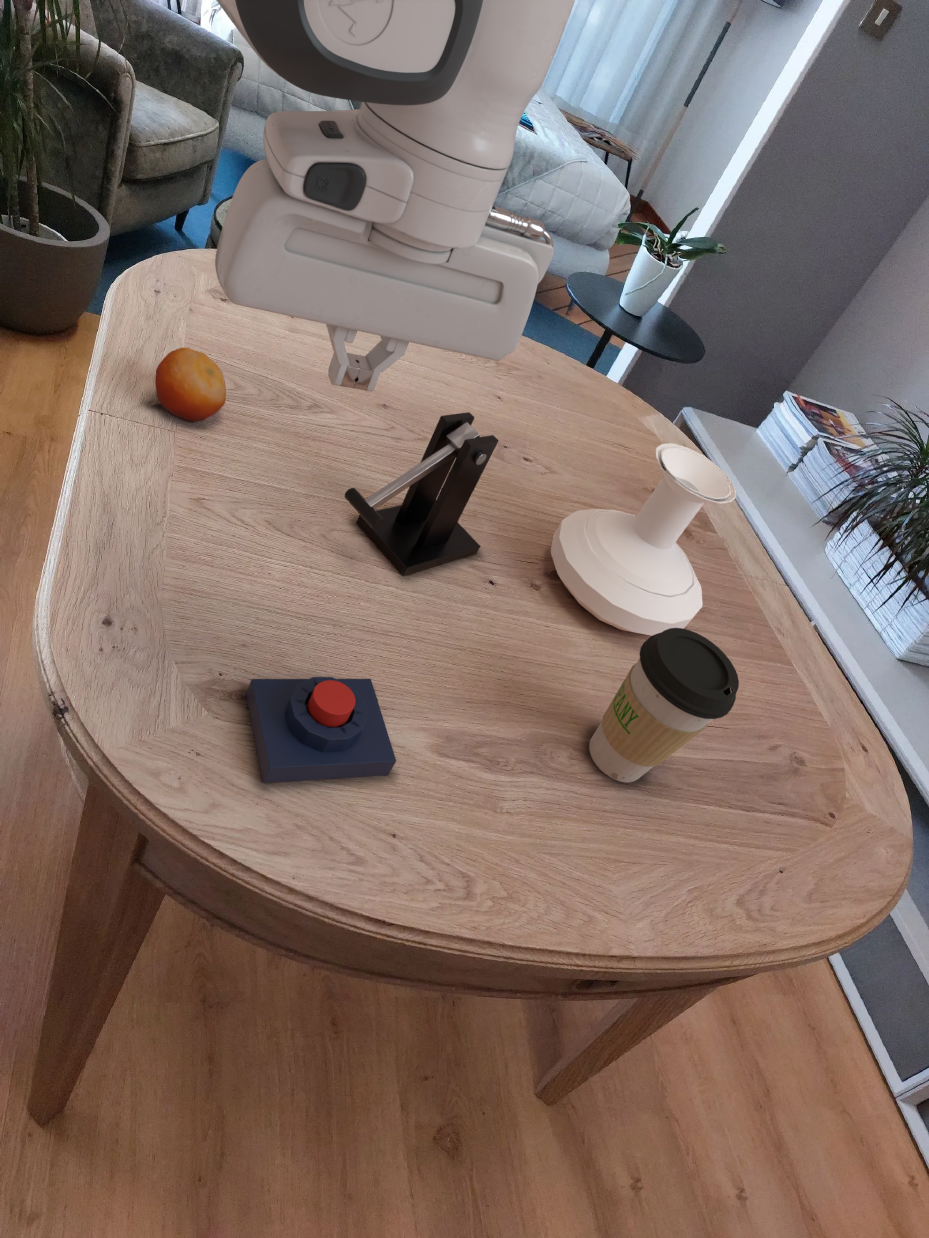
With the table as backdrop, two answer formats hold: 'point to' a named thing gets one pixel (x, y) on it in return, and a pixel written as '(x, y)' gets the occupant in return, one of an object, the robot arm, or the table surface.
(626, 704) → the coffee cup
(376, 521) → the lever
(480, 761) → the table surface
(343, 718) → the button
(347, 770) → the control block
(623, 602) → the candle holder
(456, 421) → the bracket
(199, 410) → the fruit
